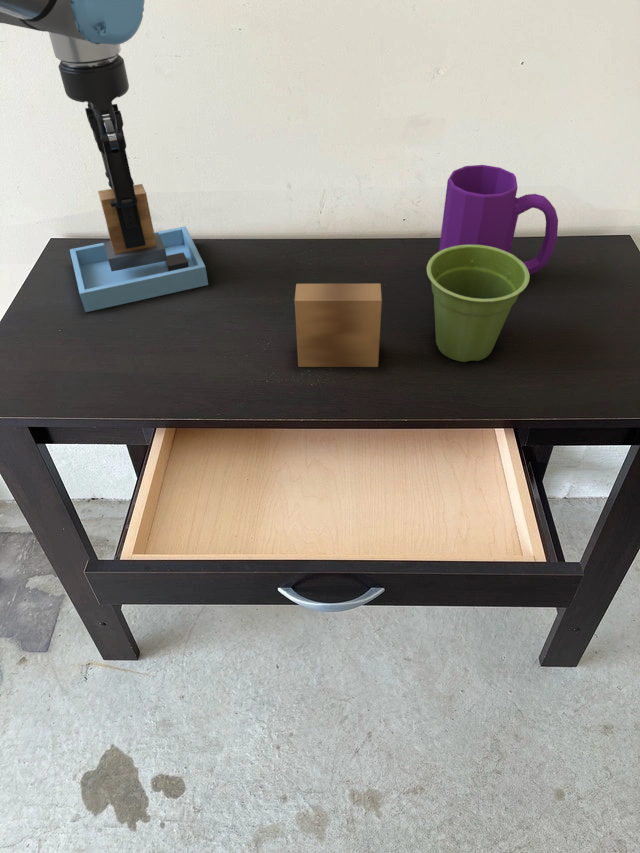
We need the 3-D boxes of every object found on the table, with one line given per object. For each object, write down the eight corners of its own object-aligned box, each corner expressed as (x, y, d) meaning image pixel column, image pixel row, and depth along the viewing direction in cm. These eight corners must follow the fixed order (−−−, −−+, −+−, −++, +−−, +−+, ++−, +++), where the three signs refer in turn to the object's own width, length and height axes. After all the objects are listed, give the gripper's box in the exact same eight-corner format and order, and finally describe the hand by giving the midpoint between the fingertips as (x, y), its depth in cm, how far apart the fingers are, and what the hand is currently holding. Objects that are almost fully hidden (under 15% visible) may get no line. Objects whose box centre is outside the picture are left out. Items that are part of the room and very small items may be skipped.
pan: (85, 312, 92) (79, 293, 90) (75, 267, 100) (69, 249, 98) (208, 285, 96) (205, 266, 94) (188, 244, 104) (185, 226, 102)
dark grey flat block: (169, 271, 98) (168, 266, 97) (165, 261, 100) (163, 256, 99) (189, 267, 98) (187, 261, 98) (184, 257, 100) (183, 252, 100)
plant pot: (411, 368, 82) (419, 291, 74) (426, 313, 90) (434, 239, 82) (508, 383, 80) (527, 306, 72) (514, 325, 88) (531, 250, 80)
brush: (111, 271, 93) (94, 204, 86) (106, 254, 96) (89, 188, 89) (167, 260, 95) (154, 194, 88) (160, 244, 98) (148, 179, 91)
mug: (436, 260, 99) (447, 162, 89) (541, 266, 98) (566, 167, 87) (435, 295, 93) (448, 194, 82) (548, 301, 91) (576, 199, 81)
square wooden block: (298, 367, 83) (294, 300, 75) (299, 349, 85) (296, 283, 78) (378, 367, 82) (381, 300, 75) (377, 349, 85) (380, 283, 78)
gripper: (133, 74, 73) (171, 261, 89) (112, 35, 83) (149, 210, 100) (64, 83, 71) (115, 273, 87) (51, 43, 82) (99, 219, 98)
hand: (133, 239), depth 94 cm, fingers closed on brush, 3 cm apart
